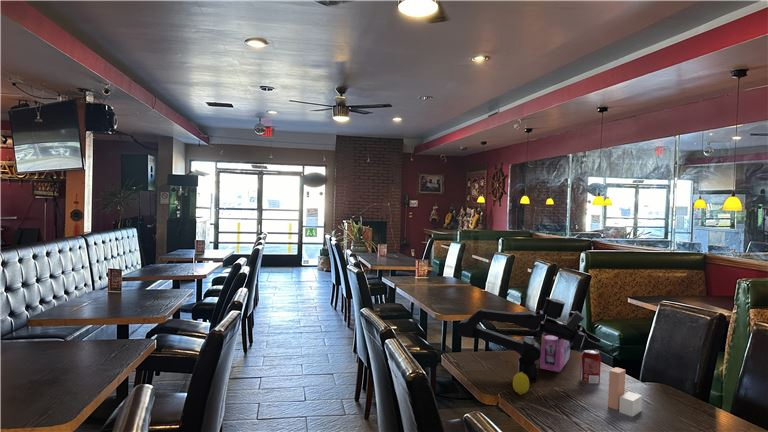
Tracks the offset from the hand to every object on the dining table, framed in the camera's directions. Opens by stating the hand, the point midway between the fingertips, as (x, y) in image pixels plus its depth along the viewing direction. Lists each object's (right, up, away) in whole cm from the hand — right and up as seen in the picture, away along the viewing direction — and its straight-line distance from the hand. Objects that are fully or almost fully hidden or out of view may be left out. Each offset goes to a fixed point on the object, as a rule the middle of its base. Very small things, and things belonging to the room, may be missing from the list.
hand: (601, 344), depth 170 cm
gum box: (-7, -16, +28) cm, 33 cm away
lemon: (-31, -16, -7) cm, 36 cm away
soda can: (-2, -16, +6) cm, 18 cm away
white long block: (-4, -17, -14) cm, 22 cm away
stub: (-3, -16, -16) cm, 23 cm away
